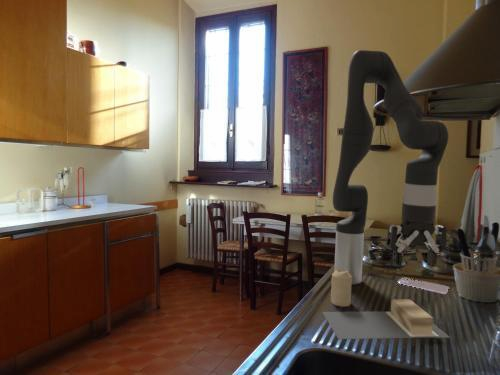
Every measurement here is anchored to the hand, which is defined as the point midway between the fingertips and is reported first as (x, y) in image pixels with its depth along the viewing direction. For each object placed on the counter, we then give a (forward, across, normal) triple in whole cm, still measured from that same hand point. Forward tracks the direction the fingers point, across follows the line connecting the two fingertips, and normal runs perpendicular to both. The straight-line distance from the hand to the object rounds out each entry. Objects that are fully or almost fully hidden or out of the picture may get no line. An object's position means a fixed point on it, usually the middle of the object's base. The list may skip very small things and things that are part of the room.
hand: (414, 266), depth 88 cm
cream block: (+15, 0, 0) cm, 15 cm away
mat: (+15, -8, 0) cm, 17 cm away
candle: (+16, -14, +13) cm, 25 cm away
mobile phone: (+16, +19, +27) cm, 37 cm away
